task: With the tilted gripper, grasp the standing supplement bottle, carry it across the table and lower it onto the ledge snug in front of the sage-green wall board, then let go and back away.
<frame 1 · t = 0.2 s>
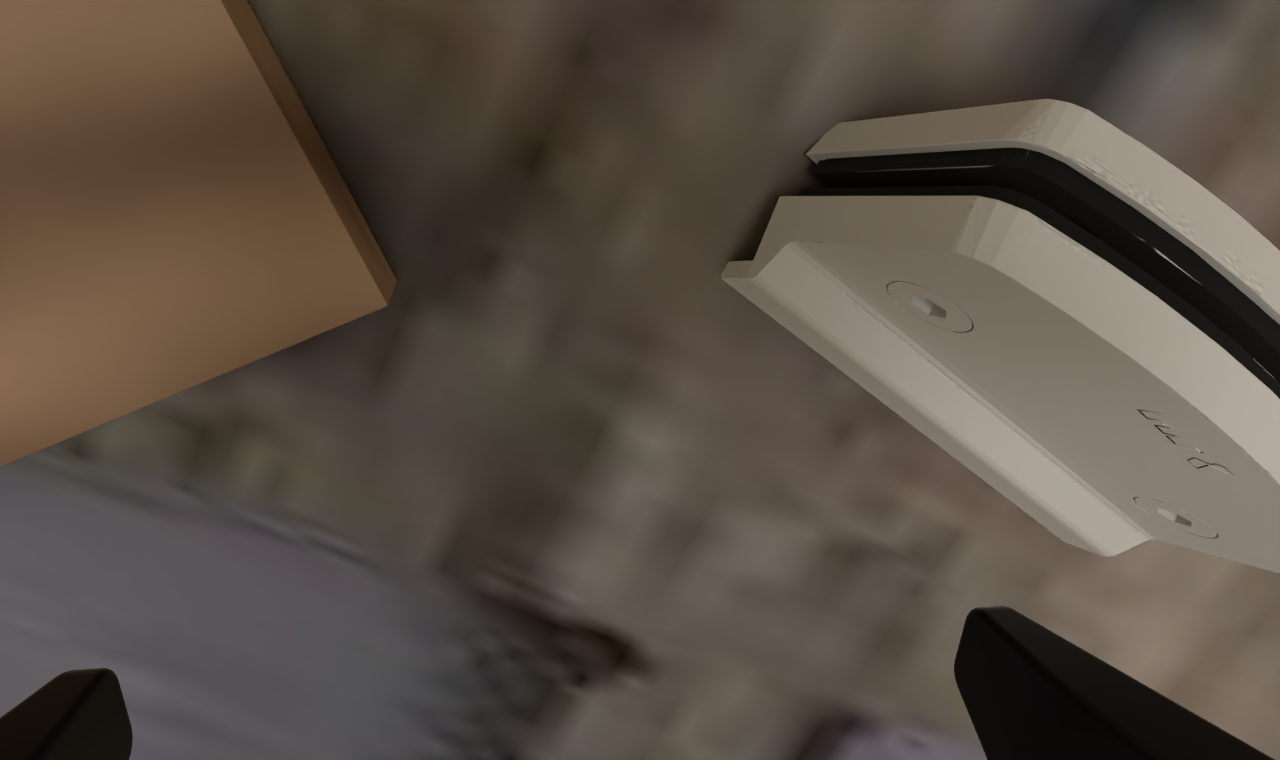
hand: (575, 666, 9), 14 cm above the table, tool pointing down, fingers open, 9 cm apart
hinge: (994, 323, 25), on the table
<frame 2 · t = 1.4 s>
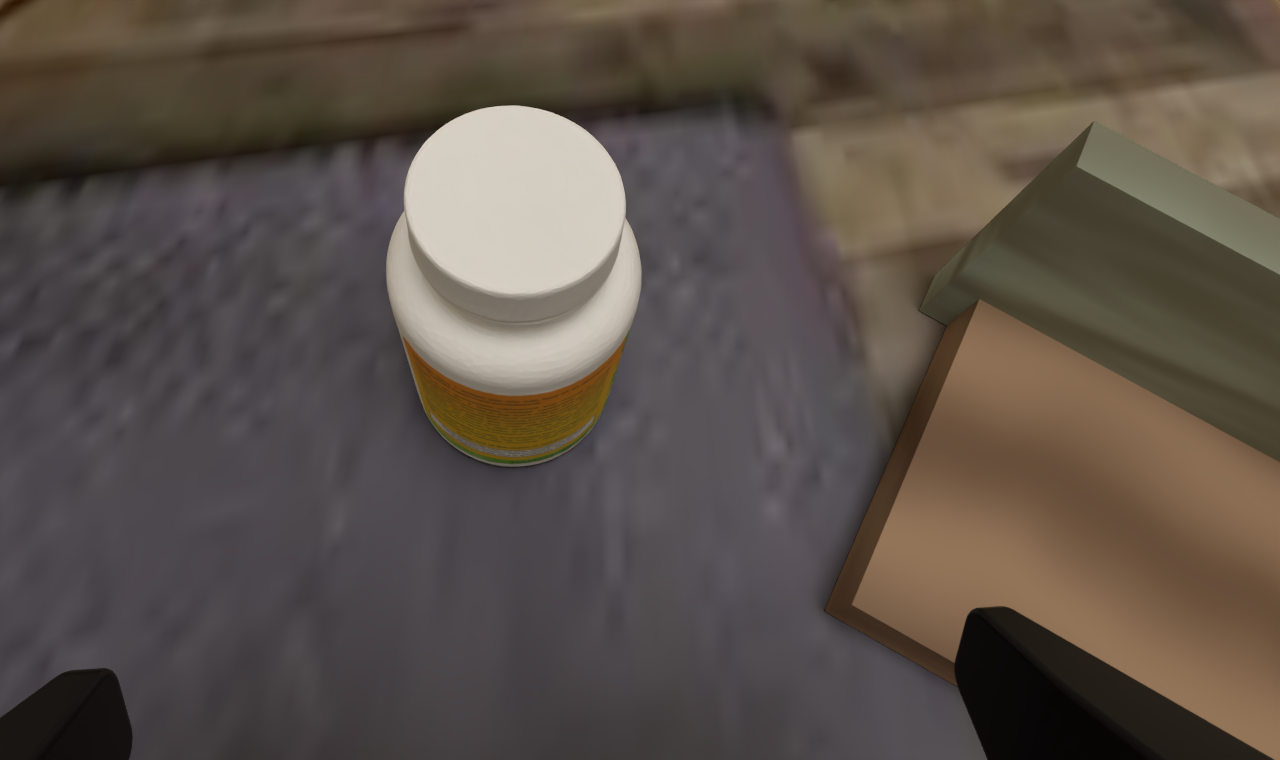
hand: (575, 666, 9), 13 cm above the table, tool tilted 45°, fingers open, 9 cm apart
wall board ledge: (1141, 562, 25), on the table
supplement bottle: (515, 381, 24), on the table
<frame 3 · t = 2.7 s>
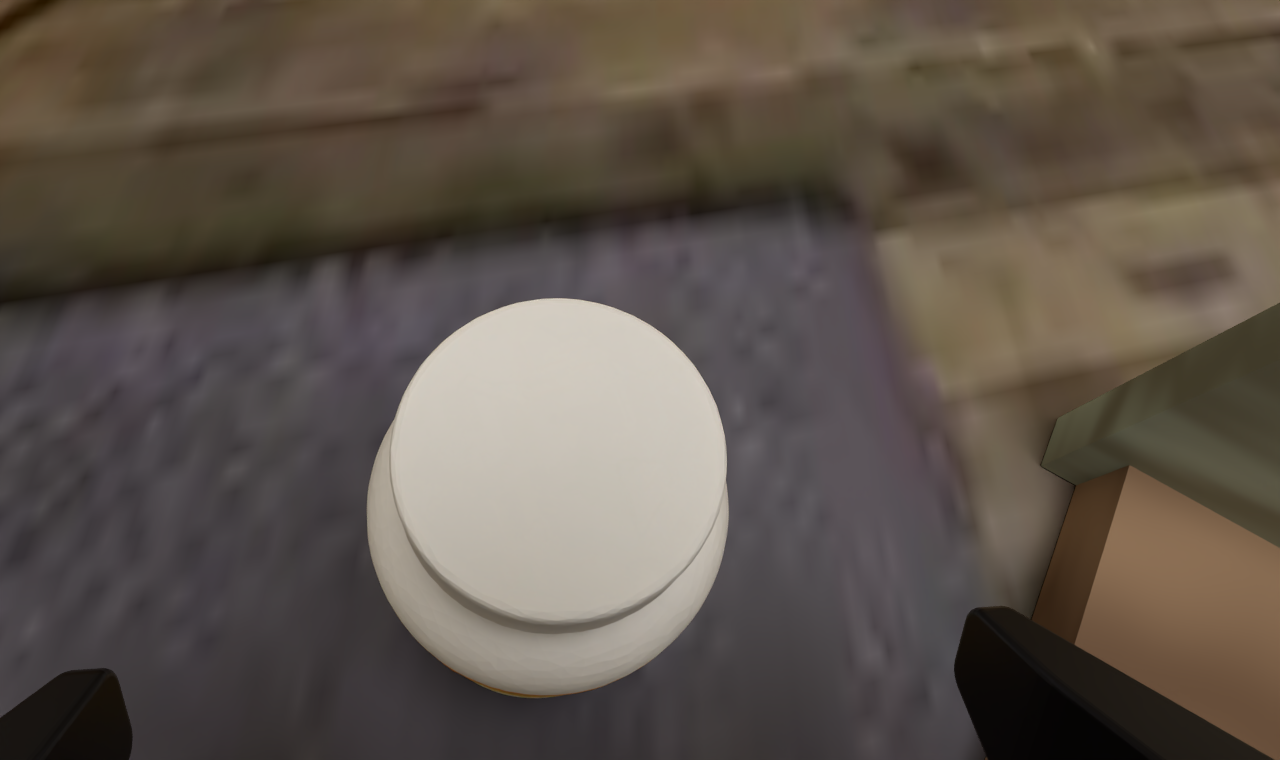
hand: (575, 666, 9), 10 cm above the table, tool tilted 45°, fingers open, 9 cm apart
supplement bottle: (538, 570, 19), on the table
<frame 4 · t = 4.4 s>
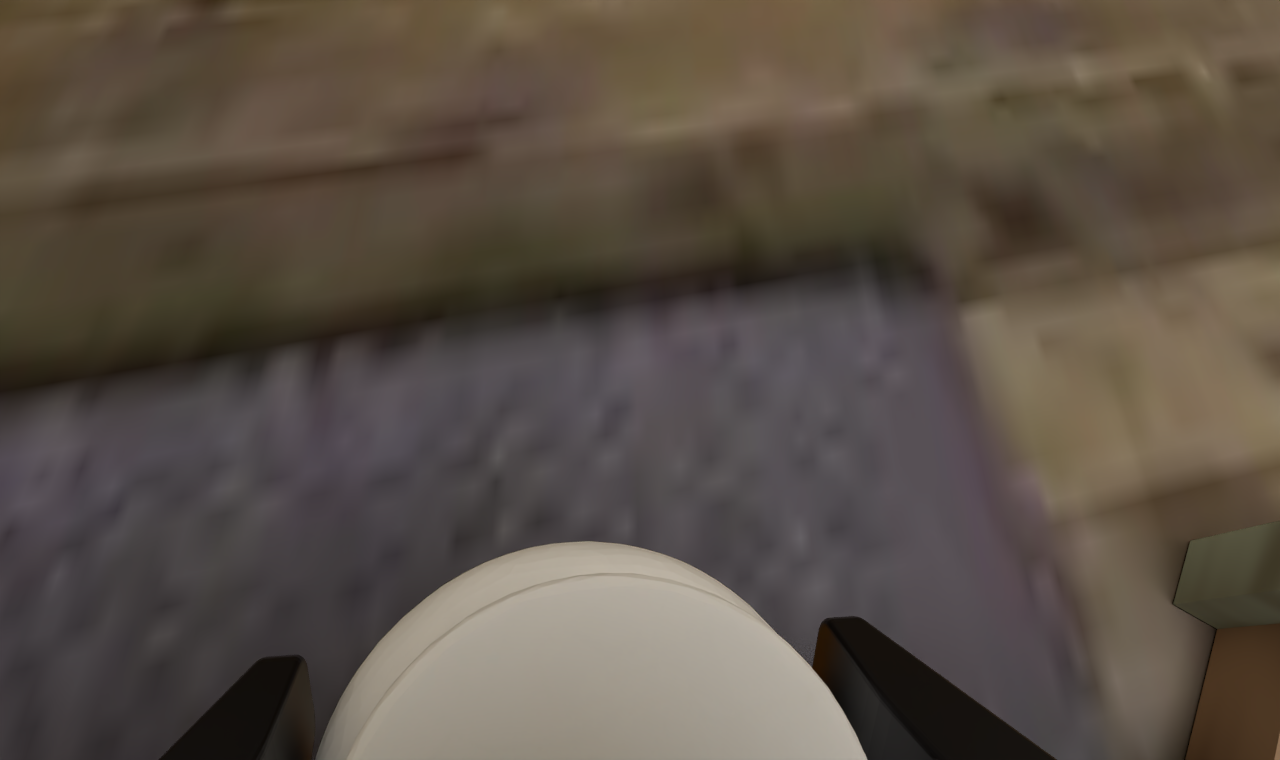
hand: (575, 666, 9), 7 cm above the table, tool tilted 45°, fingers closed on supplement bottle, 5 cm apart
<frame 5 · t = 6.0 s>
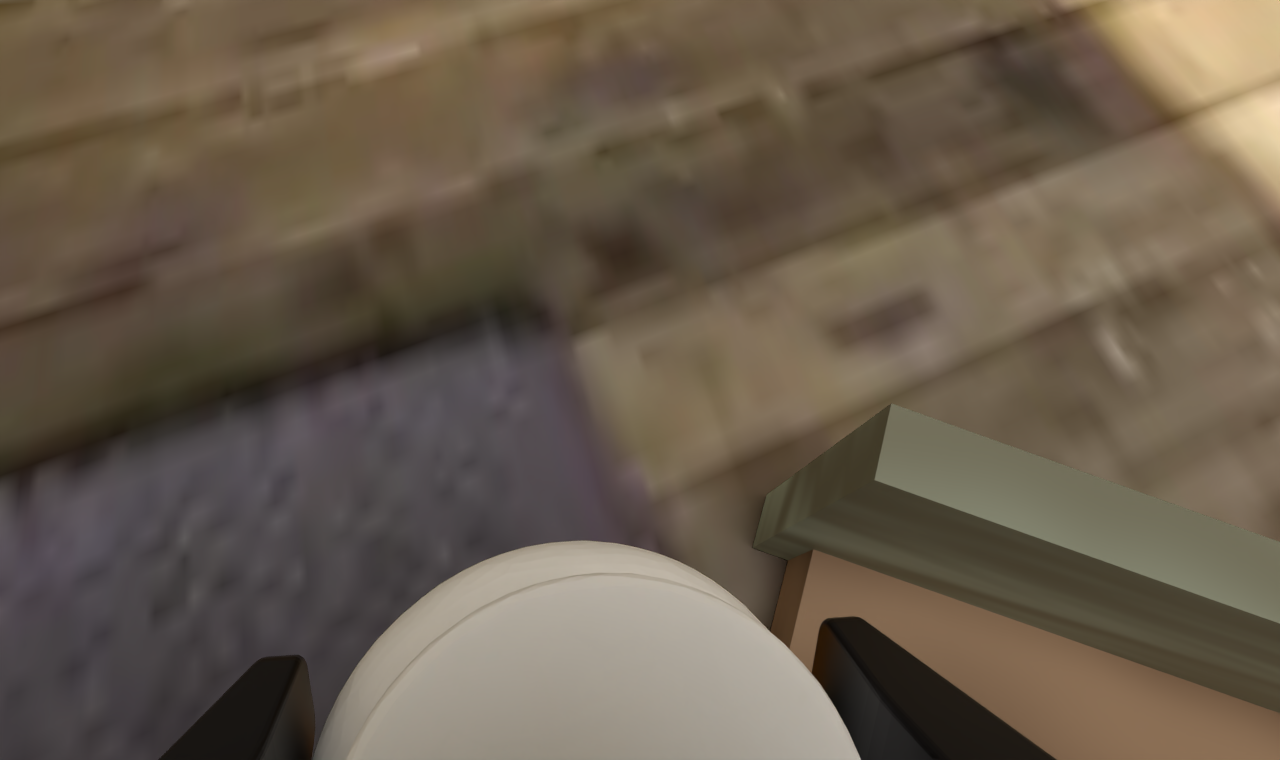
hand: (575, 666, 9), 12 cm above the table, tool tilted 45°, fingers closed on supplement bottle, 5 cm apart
supplement bottle: (546, 757, 15), point 5 cm above the table, touching gripper
when the fingers open (10 cm above the table, at t = 8.1 s): supplement bottle stays where it is, resting on wall board ledge.
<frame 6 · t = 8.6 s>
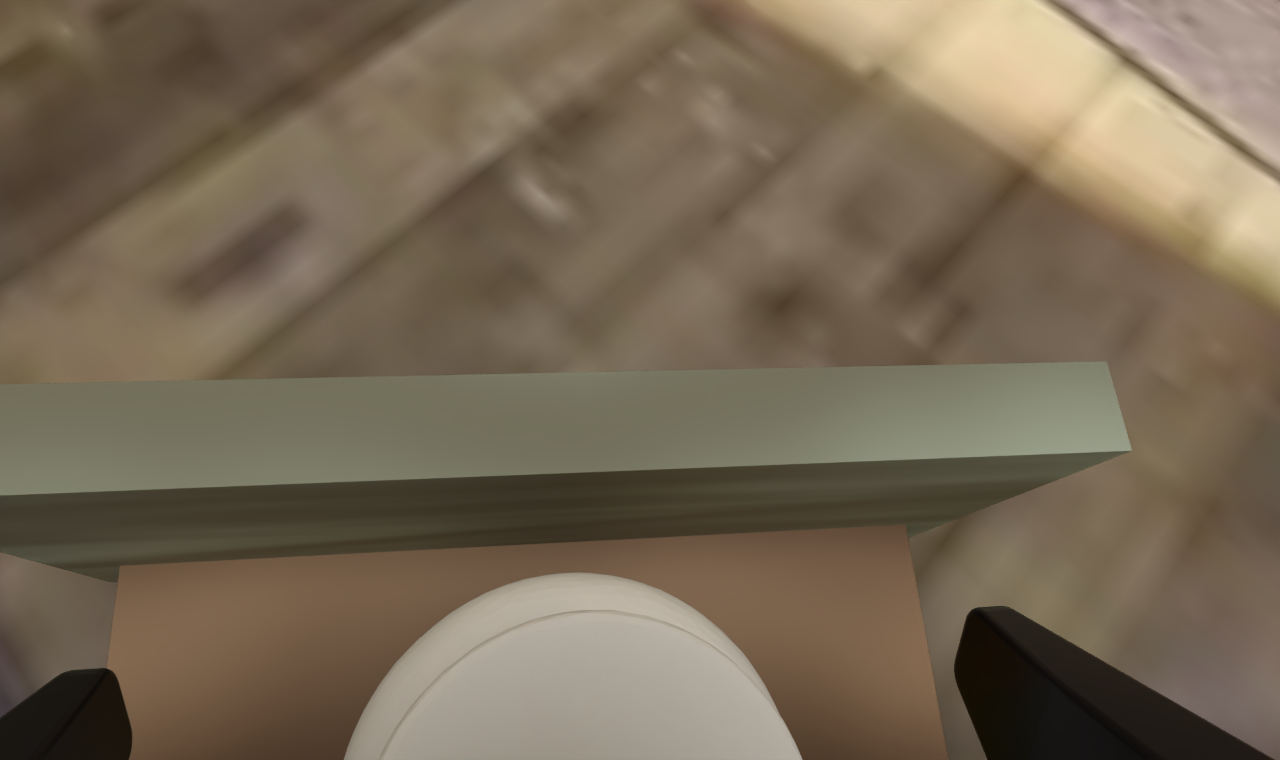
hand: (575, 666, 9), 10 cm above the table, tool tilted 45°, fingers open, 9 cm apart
wall board ledge: (545, 748, 18), on the table
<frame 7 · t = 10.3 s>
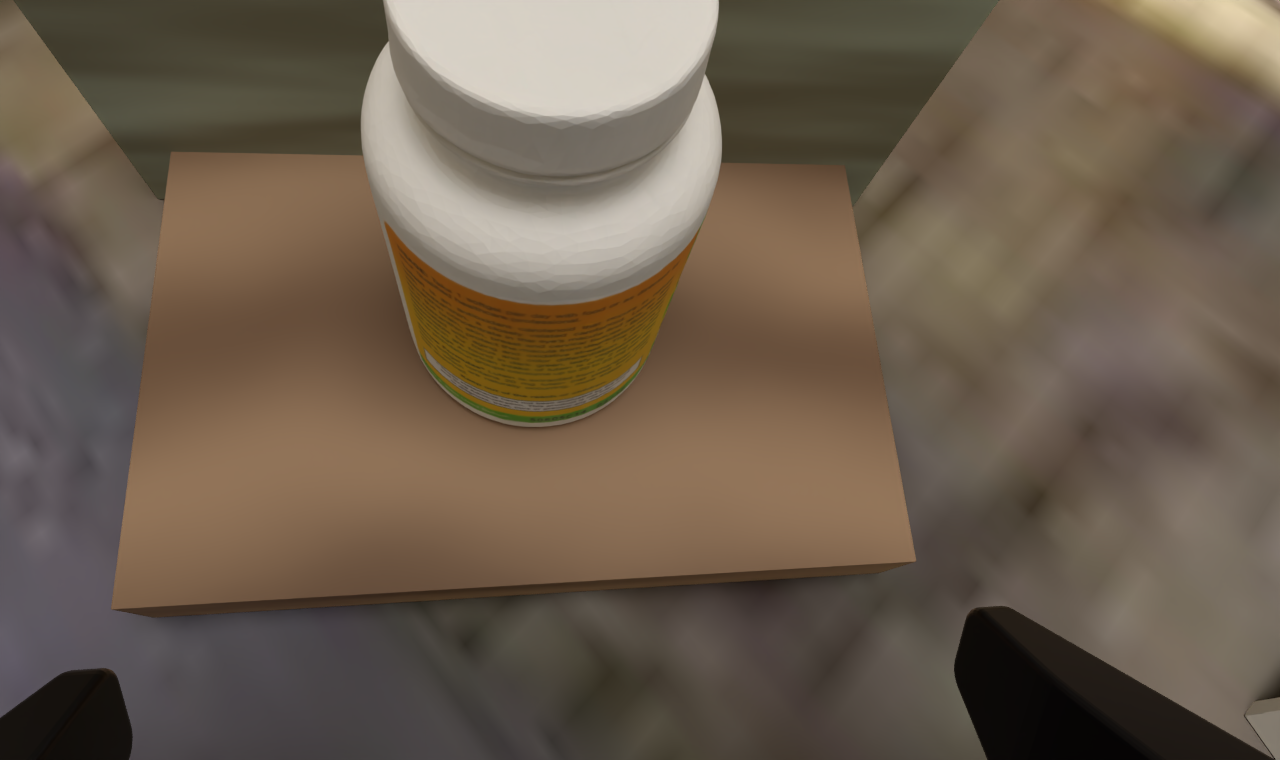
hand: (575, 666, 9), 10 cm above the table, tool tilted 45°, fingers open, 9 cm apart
wall board ledge: (532, 344, 21), on the table
supplement bottle: (534, 320, 19), point 2 cm above the table, touching wall board ledge
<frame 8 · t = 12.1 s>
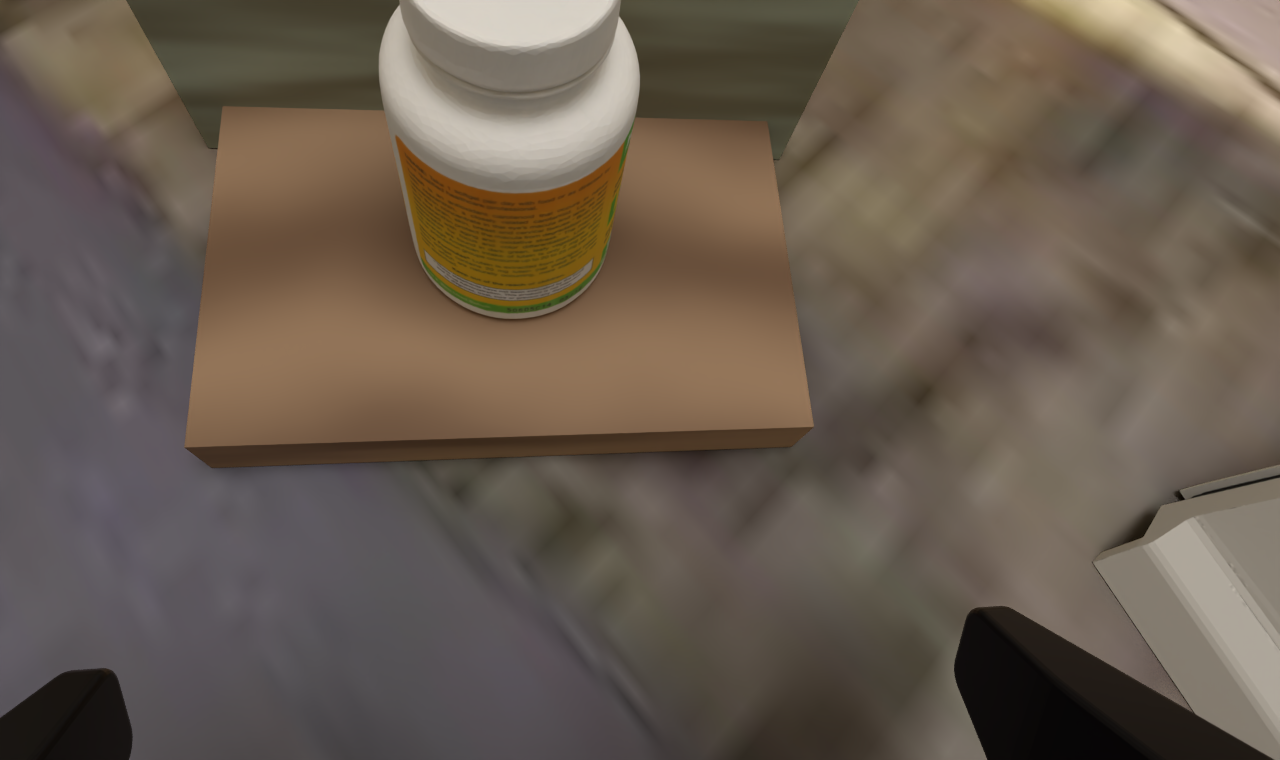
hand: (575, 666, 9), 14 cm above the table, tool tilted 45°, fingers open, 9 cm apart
wall board ledge: (512, 265, 26), on the table
supplement bottle: (512, 240, 24), point 2 cm above the table, touching wall board ledge
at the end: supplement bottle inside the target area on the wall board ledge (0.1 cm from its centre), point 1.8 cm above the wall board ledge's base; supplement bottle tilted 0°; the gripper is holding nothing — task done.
